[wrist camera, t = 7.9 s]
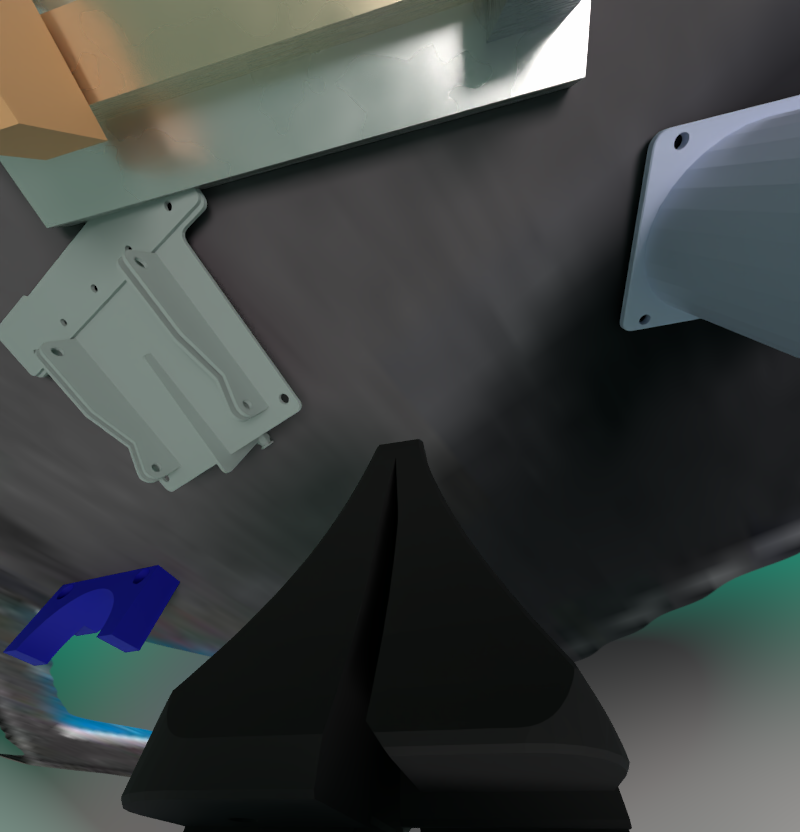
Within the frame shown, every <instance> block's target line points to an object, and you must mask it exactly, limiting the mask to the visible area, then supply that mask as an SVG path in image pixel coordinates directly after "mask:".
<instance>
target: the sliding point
mask: <svg viewBox="0 0 800 832" xmlns="http://www.w3.org/2000/svg"><path fill="white" fill-rule="evenodd" d="M106 141H108V140H107V138H106V136H105V134H104V132H103V130H102V129H101V127H100V125H99V123H98V121H97V119H96V117H95V116H94V114H93V112H92V110H91V108H90V106H89V105H88V103H87V101H86V99H85V97H84V95H83V93H82V92H81V90H80V88H79V86H78V84H77V82H76V81H75V79H74V77H73V75H72V73H71V71H70V69H69V68H68V66H67V64H66V62H65V60H64V58H63V56H62V55H61V53H60V51H59V49H58V47H57V45H56V44H55V42H54V40H53V38H52V36H51V34H50V32H49V31H48V29H47V27H46V25H45V23H44V21H43V20H42V18H41V16H40V14H39V12H38V10H37V8H36V7H35V5H34V3H33V1H32V0H0V155H2V156H11V157H21V158H30V159H39V160H48V159H51V158H55V157H58V156H61V155H64V154H67V153H70V152H74V151H77V150H80V149H83V148H86V147H90V146H93V145H96V144H99V143H102V142H106Z"/></svg>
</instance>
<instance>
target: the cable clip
mask: <svg viewBox="0 0 800 832" xmlns="http://www.w3.org/2000/svg"><path fill="white" fill-rule="evenodd" d="M179 583H180V582H179V581H178V580H177V579H176V578H174V577H173V576H172V575H170V574H169V573H168V572H167V571H165V570H164V569H163V568H161V567H160V566H159V565H157V566H152V567H147V568H142V569H137V570H133V571H128V572H123V573H118V574H114V575H109V576H104V577H99V578H95V579H90V580H85V581H80V582H75V583H71V584H66V585H63V586H62V587H61V588H60V589H59V590H58V591H57V592H56V593H55V594H54V596H53V597H52V598H51V599H50V600H49V601H48V602H47V603H46V605H45V606H44V607H43V608H42V609H41V610H40V611H39V612H38V614H37V615H36V616H35V617H34V618H33V619H32V620H31V621H30V623H29V624H28V625H27V626H26V627H25V628H24V629H23V630H22V632H21V633H20V634H19V635H18V636H17V637H16V638H15V639H14V640H13V642H12V643H11V644H10V645H9V646H8V647H7V648H6V649H5V651H4V653H6V654H9V655H11V656H13V657H16V658H18V659H20V660H23V661H25V662H27V663H30V664H32V665H34V666H37V665H43V664H47V663H48V662H49V661H50V660H51V658H52V657H53V656H54V655H55V654H56V653H57V651H58V650H59V649H60V648H61V647H62V646H63V645H64V644H65V643H66V642H67V641H68V640H69V639H70V638H71V637H72V636H73V635H76V636H79V635H84V634H92V633H97V632H98V631H100V630H101V629H102V630H101V631H100V633H99V634H98V636H97V637H98V638H99V639H101V640H103V641H105V642H107V643H109V644H111V645H112V646H114V647H116V648H118V649H120V650H122V651H124V652H131V651H139V650H140V649H141V647H142V645H143V644H144V642H145V640H146V639H147V637H148V635H149V634H150V632H151V630H152V628H153V627H154V625H155V623H156V622H157V620H158V618H159V617H160V615H161V613H162V612H163V610H164V608H165V607H166V605H167V603H168V602H169V600H170V598H171V596H172V595H173V593H174V591H175V590H176V588H177V586H178V585H179Z"/></svg>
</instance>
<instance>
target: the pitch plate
mask: <svg viewBox="0 0 800 832" xmlns="http://www.w3.org/2000/svg"><path fill="white" fill-rule="evenodd" d="M32 1H33V3H34V5H35V7H36V8H37V10H38V12H39V14H40V16H41V18H42V20H43V21H44V23H45V25H46V27H47V29H48V31H49V32H50V34H51V36H52V38H53V40H54V42H55V44H56V45H57V47H58V49H59V51H60V53H61V55H62V56H63V58H64V60H65V62H66V64H67V66H68V68H69V69H70V71H71V73H72V75H73V77H74V79H75V81H76V82H77V84H78V86H79V88H80V90H81V92H82V93H83V95H84V97H85V99H86V101H87V103H88V105H89V106H90V108H91V110H92V112H93V114H94V116H95V117H96V119H97V121H98V123H99V125H100V127H101V129H102V130H103V132H104V134H105V136H106V138H107V140H108V141H106V142H102V143H99V144H96V145H93V146H90V147H86V148H83V149H80V150H77V151H74V152H70V153H67V154H64V155H61V156H58V157H55V158H51V159H48V160H39V159H30V158H21V157H11V156H2V155H0V162H1V163H2V165H3V166H4V167H5V169H6V170H7V172H8V173H9V175H10V176H11V177H12V179H13V180H14V182H15V183H16V185H17V186H18V187H19V189H20V190H21V192H22V193H23V195H24V196H25V197H26V199H27V200H28V202H29V203H30V205H31V206H32V207H33V209H34V210H35V212H36V213H37V215H38V216H39V217H40V219H41V220H42V222H43V223H44V225H45V226H46V227H47V228H54V227H67V226H73V225H77V224H81V223H84V222H88V221H89V220H92V219H95V218H99V217H102V216H105V215H108V214H112V213H115V212H118V211H122V210H125V209H128V208H131V207H135V206H138V205H141V204H145V203H148V202H151V201H154V200H158V199H161V198H164V197H168V196H171V195H174V194H178V193H181V192H184V191H187V190H191V189H194V188H196V189H200V190H203V189H206V188H210V187H214V186H217V185H221V184H224V183H228V182H231V181H235V180H239V179H242V178H246V177H249V176H253V175H257V174H260V173H264V172H267V171H271V170H275V169H278V168H282V167H285V166H289V165H292V164H296V163H300V162H303V161H307V160H310V159H314V158H318V157H321V156H325V155H328V154H332V153H336V152H339V151H343V150H346V149H350V148H354V147H357V146H361V145H364V144H368V143H371V142H375V141H379V140H382V139H386V138H389V137H393V136H397V135H400V134H404V133H407V132H411V131H415V130H418V129H422V128H425V127H429V126H432V125H436V124H440V123H443V122H447V121H450V120H454V119H458V118H461V117H465V116H468V115H472V114H476V113H479V112H483V111H486V110H490V109H494V108H497V107H501V106H504V105H508V104H511V103H515V102H519V101H522V100H526V99H529V98H533V97H537V96H540V95H544V94H547V93H551V92H555V91H558V90H562V89H565V88H569V87H571V86H573V85H574V84H576V83H577V82H579V81H580V80H582V79H583V78H584V77H585V73H586V60H587V46H588V33H589V19H590V6H591V0H32Z"/></svg>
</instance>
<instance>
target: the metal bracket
mask: <svg viewBox="0 0 800 832" xmlns="http://www.w3.org/2000/svg"><path fill="white" fill-rule="evenodd" d="M169 202H170V203H171V205H172V209H171V211H169V210H168V203H169ZM206 208H207V201H206V198H205V196H204V195H203V194H202V192H201V191H200V189H196V188H194V189H191V190H187V191H184V192H181V193H178V194H174V195H171V196H168V197H164V198H161V199H158V200H154V201H151V202H148V203H145V204H141V205H138V206H135V207H131V208H128V209H125V210H122V211H118V212H115V213H112V214H108V215H105V216H102V217H99V218H95V219H92V220H89V221H88V222H87V223H86V224H85V225H84V227H83V228H82V229H81V230H80V232H79V233H78V234H77V235H76V237H75V238H74V239H73V240H72V242H71V243H70V244H69V245H68V247H67V248H66V249H65V251H64V252H63V253H62V254H61V256H60V257H59V258H58V259H57V261H56V262H55V263H54V264H53V266H52V267H51V268H50V269H49V271H48V272H47V273H46V274H45V276H44V277H43V278H42V280H41V281H40V282H39V283H38V285H37V286H36V287H35V288H34V290H33V291H32V292H31V293H30V295H29V296H28V297H27V296H24V295H23V297H22V298H21V299H20V300H19V302H18V303H17V304H16V305H15V306H14V308H13V309H12V310H11V311H10V313H9V314H8V315H7V316H6V318H5V319H4V320H3V321H2V323H1V324H0V340H1V342H2V343H3V344H4V345H5V346H6V347H7V348H8V350H9V351H10V352H11V353H12V354H13V355H14V356H15V357H16V359H17V360H18V361H19V362H20V363H21V364H22V365H23V366H24V368H25V369H26V370H27V371H28V372H29V373H30V374H31V375H33V376H38V377H45V376H47V375H48V374H49V375H50V376H51V377H52V379H53V380H54V381H55V382H56V383H57V384H58V385H59V387H60V388H61V389H62V390H63V391H64V392H65V393H66V395H67V396H68V397H69V398H70V399H71V400H72V401H73V403H74V404H75V405H76V406H77V407H78V408H79V409H80V411H81V412H82V413H83V414H84V415H85V416H86V417H87V418H88V419H90V420H91V421H92V422H94V423H95V424H97V425H98V426H99V427H101V428H102V429H103V430H105V431H106V432H107V433H109V434H110V435H112V436H113V437H114V438H116V439H117V440H118V441H120V442H121V443H122V444H124V445H125V446H127V447H128V448H129V451H130V454H131V457H132V460H133V463H134V466H135V469H136V472H137V475H138V476H139V478H140V479H141V480H143V481H145V482H148V483H153V482H156V481H158V480H159V481H160V482H161V484H162V485H163V486H164V487H165V488H166V489H167V490H168V491H171V492H172V491H174V490H176V489H178V488H179V487H181V486H182V485H184V484H185V483H187V482H189V481H190V480H192V479H193V478H195V477H196V476H198V475H200V474H201V473H203V472H204V471H206V470H207V469H209V468H211V467H212V466H214V465H215V464H217V465H218V466H219V468H220V469H221V470H222V471H223V472H224V473H229V472H231V471H232V470H233V469H234V468H235V467H236V466H237V465H238V464H239V462H240V461H241V460H242V459H243V458H244V457H245V456H246V455H247V454H248V452H249V451H250V450H251V449H252V448H253V447H254V446H255V445H256V444H257V443H258V444H260V445H261V446H262V449H264V448H266V447H267V446H269V445H270V444H272V443H273V440H272V441H271V440H270V439H269V438H270V436H269V435H268V434H267V433H265V432H267V431H269V430H270V429H272V428H273V427H275V426H276V425H278V424H280V423H281V422H283V421H284V420H286V419H287V418H289V417H291V416H292V415H294V414H295V413H297V412H298V411H300V410H301V408H302V404H301V401H300V400H299V399H298V397H297V396H296V394H295V393H294V392H293V390H292V389H291V387H290V386H289V385H288V383H287V382H286V380H285V379H284V378H283V376H282V375H281V373H280V372H279V370H278V369H277V368H276V366H275V365H274V363H273V362H272V361H271V359H270V358H269V356H268V355H267V354H266V352H265V351H264V349H263V348H262V347H261V345H260V344H259V342H258V341H257V340H256V338H255V337H254V335H253V334H252V333H251V331H250V330H249V328H248V327H247V325H246V324H245V323H244V321H243V320H242V318H241V317H240V316H239V314H238V313H237V311H236V310H235V309H234V307H233V306H232V304H231V303H230V302H229V300H228V299H227V297H226V296H225V295H224V293H223V292H222V290H221V289H220V288H219V286H218V285H217V283H216V282H215V280H214V279H213V278H212V276H211V275H210V273H209V272H208V271H207V269H206V268H205V266H204V265H203V264H202V262H201V261H200V259H199V258H198V257H197V255H196V254H195V252H194V251H193V250H192V248H191V247H190V245H189V244H188V242H187V241H186V238H185V232H186V230H187V229H188V228H189V227H190V225H191V224H192V223H193V222H194V221H195V220H196V219H197V218H198V217H199V216H200V215H201V214H202V213H203V212H204V211H205V209H206ZM129 247H131V248H132V250H129ZM95 286H96V287H97V289H98V291H96V290H95ZM64 320H65V321H66V322H67V324H66V323H65V322H64ZM282 394H286V395H287V396H288V398H289V402H288V403H285V402H283V401H282V399H281V395H282ZM270 441H271V442H270ZM166 475H167V476H168V477H169V480H167V479H166V478H165V476H166Z"/></svg>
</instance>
